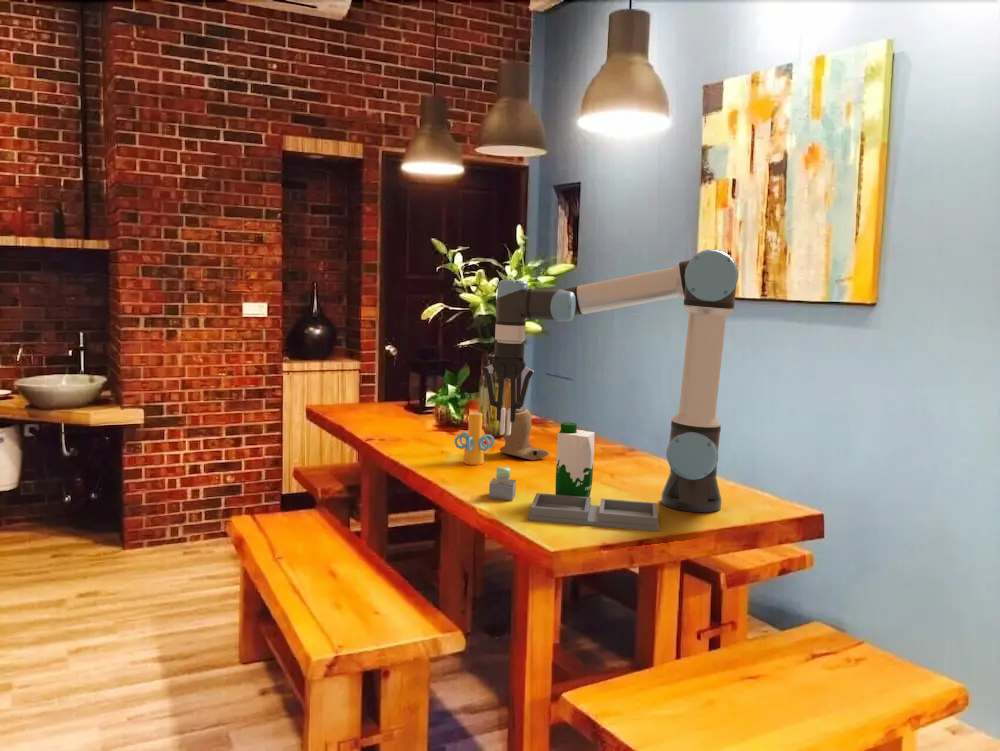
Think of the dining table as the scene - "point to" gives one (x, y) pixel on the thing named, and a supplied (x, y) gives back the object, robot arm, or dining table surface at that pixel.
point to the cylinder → (474, 441)
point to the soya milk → (574, 461)
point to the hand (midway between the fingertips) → (505, 433)
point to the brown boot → (521, 438)
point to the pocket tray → (594, 512)
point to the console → (502, 489)
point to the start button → (503, 472)
